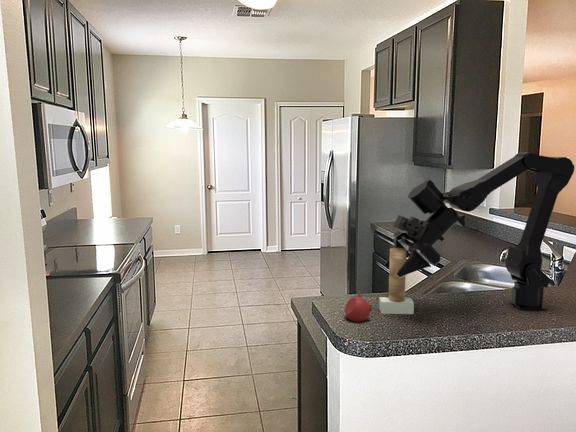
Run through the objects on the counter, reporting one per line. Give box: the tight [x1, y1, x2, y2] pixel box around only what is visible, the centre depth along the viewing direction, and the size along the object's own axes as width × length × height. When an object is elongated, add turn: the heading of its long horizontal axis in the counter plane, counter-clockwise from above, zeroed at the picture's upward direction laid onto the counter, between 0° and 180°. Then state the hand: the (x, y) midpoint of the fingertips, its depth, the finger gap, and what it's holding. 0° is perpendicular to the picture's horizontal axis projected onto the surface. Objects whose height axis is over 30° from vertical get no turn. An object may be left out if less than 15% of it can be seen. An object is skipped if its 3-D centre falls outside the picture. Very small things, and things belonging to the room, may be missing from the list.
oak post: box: [388, 247, 407, 302], centre depth 123 cm, size 4×4×13 cm
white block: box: [378, 296, 415, 315], centre depth 124 cm, size 8×4×3 cm, turn 87°
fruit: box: [344, 296, 379, 323], centre depth 119 cm, size 6×6×8 cm
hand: (391, 270), depth 123 cm, fingers open, 9 cm apart
